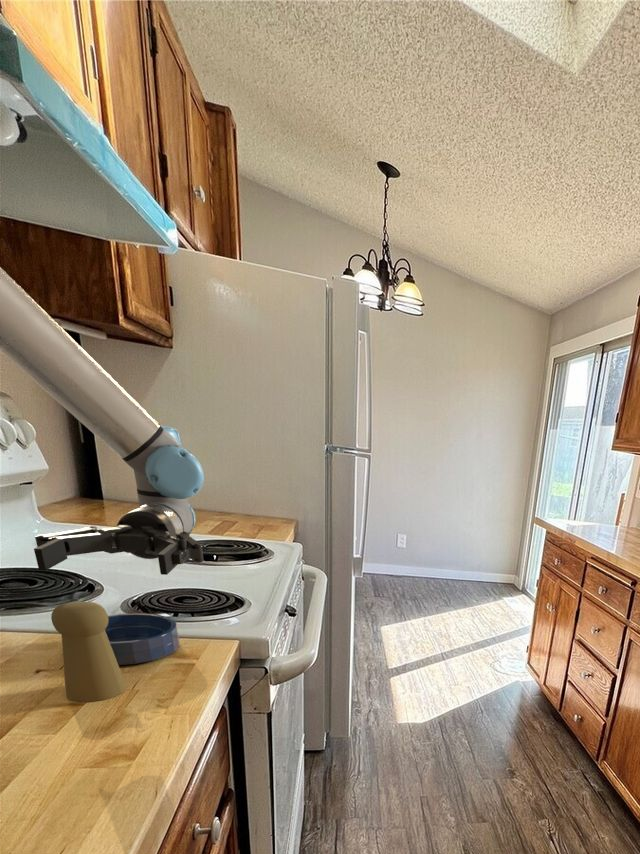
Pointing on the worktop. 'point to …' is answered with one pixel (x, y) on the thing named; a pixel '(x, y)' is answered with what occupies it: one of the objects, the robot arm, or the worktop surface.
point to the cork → (87, 652)
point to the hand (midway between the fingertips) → (102, 562)
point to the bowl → (141, 637)
